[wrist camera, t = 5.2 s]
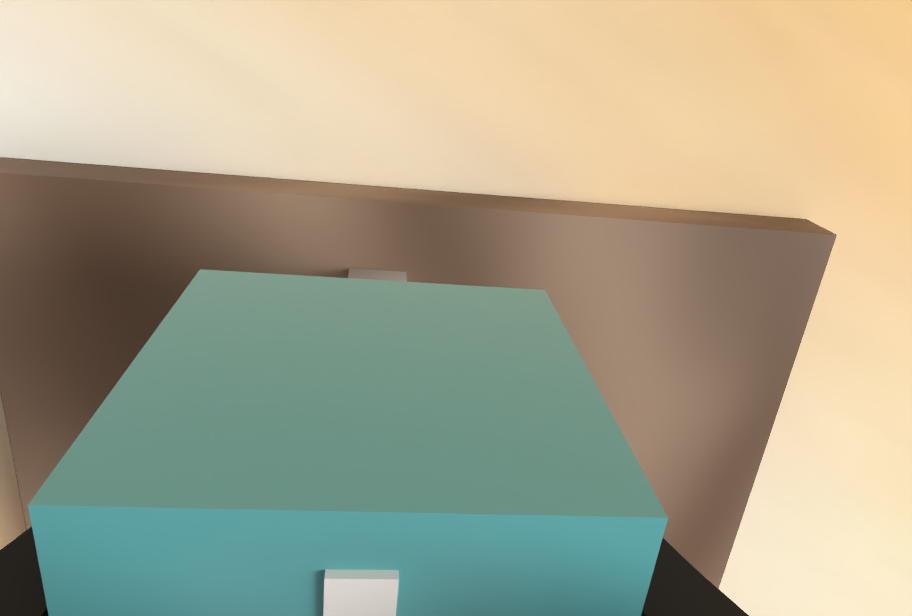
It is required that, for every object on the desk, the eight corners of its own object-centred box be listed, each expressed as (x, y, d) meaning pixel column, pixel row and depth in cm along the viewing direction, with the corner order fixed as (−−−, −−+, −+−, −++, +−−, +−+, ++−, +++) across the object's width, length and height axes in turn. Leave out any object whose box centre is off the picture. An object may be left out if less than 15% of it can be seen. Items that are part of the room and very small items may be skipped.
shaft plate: (82, 693, 20) (11, 853, 16) (-9, 157, 14) (-160, 212, 10) (660, 687, 22) (714, 827, 19) (806, 219, 16) (935, 285, 12)
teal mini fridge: (216, 588, 12) (107, 955, 7) (199, 269, 10) (21, 514, 5) (495, 589, 13) (557, 930, 8) (544, 290, 10) (671, 526, 6)
